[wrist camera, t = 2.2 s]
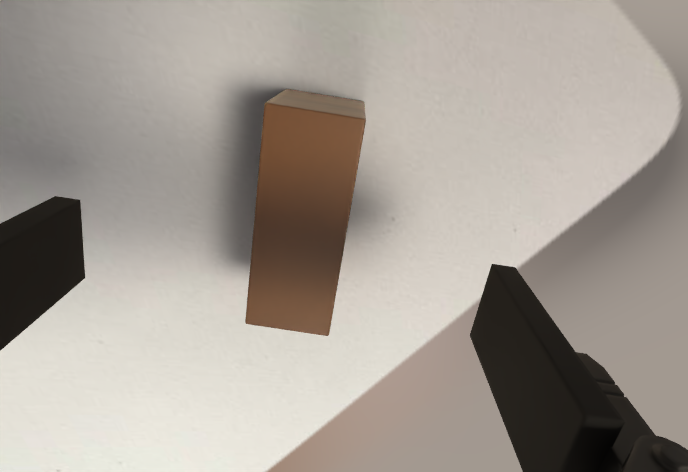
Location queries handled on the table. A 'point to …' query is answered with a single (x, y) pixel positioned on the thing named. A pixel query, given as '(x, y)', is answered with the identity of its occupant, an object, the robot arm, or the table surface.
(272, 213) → the brown rectangular block
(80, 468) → the table surface
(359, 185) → the table surface
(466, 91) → the table surface
